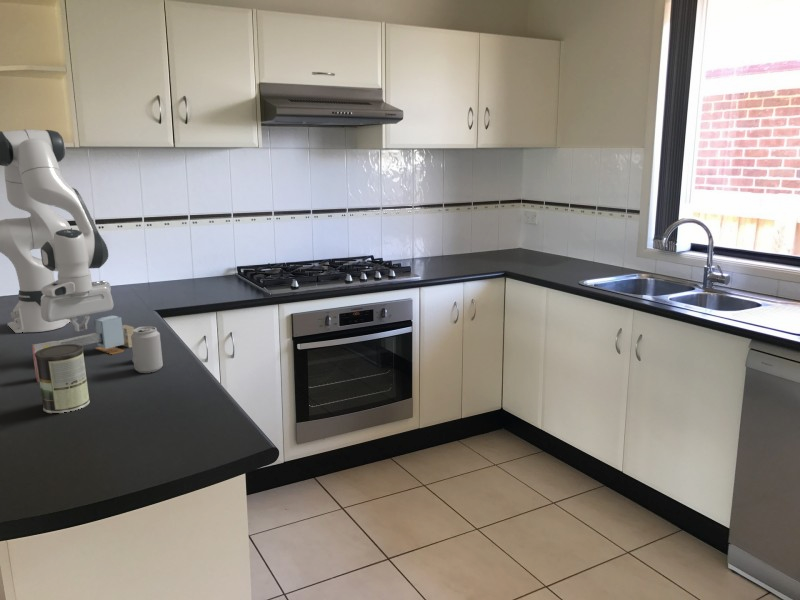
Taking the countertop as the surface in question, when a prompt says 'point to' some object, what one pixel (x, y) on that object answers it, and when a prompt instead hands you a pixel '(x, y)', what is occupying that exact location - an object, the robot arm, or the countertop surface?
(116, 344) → the light blue block
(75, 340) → the rail
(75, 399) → the coffee can
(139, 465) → the countertop surface
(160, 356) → the can
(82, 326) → the robot arm
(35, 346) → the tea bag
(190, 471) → the countertop surface
